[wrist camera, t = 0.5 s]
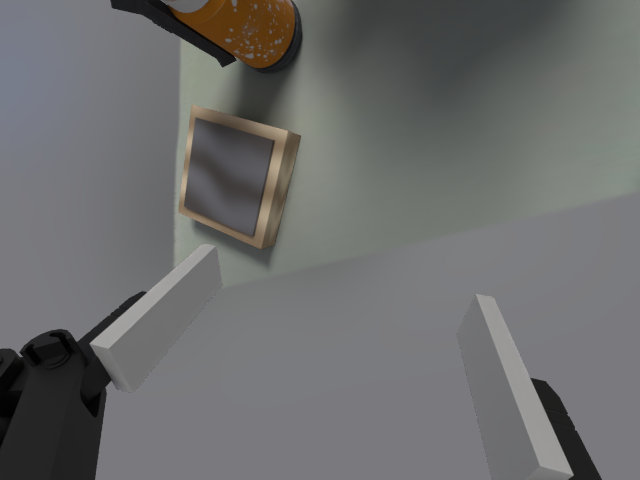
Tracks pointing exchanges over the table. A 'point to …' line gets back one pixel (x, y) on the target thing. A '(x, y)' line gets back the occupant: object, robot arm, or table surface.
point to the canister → (229, 27)
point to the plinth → (237, 175)
